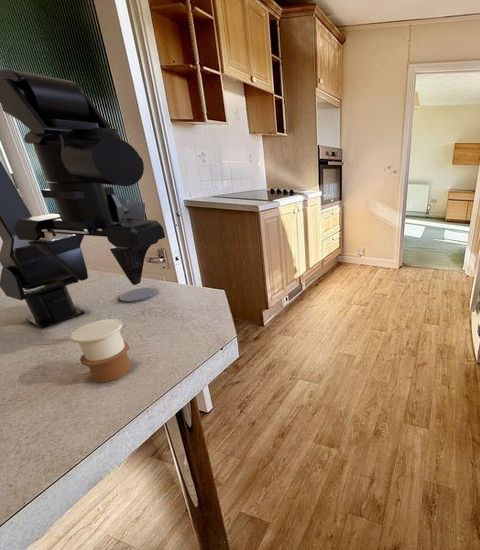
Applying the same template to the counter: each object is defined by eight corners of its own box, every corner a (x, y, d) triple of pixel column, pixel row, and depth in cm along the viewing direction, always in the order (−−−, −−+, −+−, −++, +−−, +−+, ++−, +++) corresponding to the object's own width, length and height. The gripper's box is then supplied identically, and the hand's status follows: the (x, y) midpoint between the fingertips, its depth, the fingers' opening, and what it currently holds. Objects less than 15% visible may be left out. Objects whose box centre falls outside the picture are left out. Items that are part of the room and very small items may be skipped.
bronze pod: (81, 378, 42) (71, 357, 41) (123, 356, 47) (115, 337, 45) (102, 390, 40) (92, 368, 39) (143, 366, 45) (136, 346, 43)
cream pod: (72, 356, 41) (62, 334, 39) (116, 336, 45) (108, 315, 44) (93, 368, 39) (83, 344, 37) (137, 346, 43) (129, 324, 42)
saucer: (114, 298, 64) (113, 296, 64) (144, 287, 70) (143, 285, 70) (131, 305, 62) (130, 302, 62) (161, 293, 67) (160, 291, 67)
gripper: (178, 179, 47) (196, 267, 53) (74, 174, 49) (103, 260, 55) (118, 186, 37) (149, 295, 43) (-12, 179, 38) (36, 285, 45)
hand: (110, 281), depth 47 cm, fingers open, 9 cm apart
